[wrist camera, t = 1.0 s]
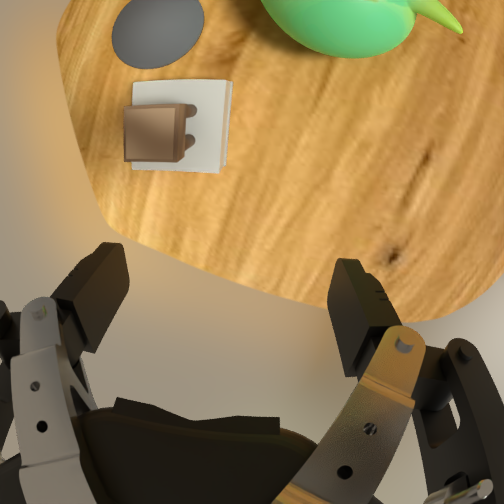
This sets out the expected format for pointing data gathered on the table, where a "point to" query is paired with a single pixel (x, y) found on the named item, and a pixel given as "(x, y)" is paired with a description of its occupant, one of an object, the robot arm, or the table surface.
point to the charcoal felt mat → (156, 31)
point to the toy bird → (354, 23)
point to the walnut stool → (157, 132)
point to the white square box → (193, 120)
